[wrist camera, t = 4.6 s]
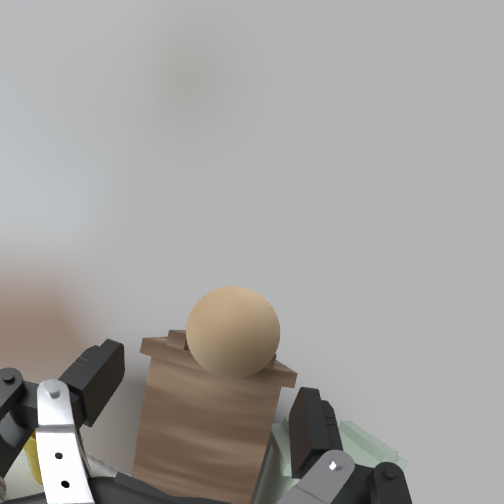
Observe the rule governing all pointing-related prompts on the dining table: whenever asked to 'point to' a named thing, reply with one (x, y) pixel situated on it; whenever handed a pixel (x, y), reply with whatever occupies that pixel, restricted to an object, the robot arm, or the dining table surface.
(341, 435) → the pale green lidded tub
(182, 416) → the walnut tub
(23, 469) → the dining table surface
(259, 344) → the tan roll
